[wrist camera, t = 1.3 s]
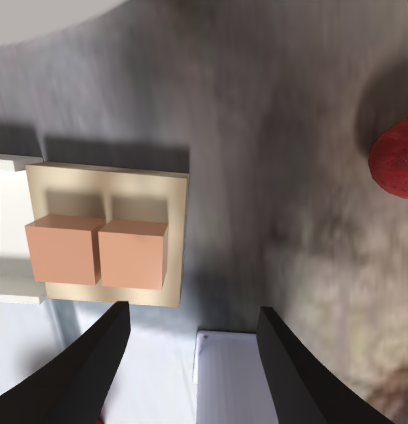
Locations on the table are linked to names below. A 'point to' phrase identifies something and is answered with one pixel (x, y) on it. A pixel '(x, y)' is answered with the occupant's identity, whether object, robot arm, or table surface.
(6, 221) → the tray
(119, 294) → the board
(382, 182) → the onion
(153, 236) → the tile
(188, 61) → the table surface
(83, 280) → the tile
